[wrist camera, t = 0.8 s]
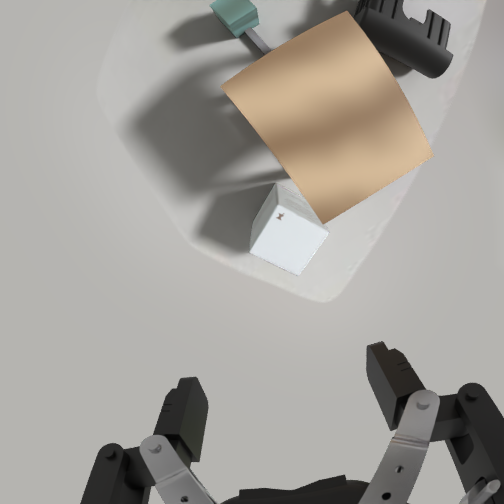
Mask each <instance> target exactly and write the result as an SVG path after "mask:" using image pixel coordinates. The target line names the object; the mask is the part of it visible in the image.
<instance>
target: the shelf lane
mask: <svg viewBox="0 0 504 504" xmlns="http://www.w3.org/2000/svg"><path fill="white" fill-rule="evenodd" d="M220 87H221V88H222V89H223V91H224V92H225V93H226V94H227V95H228V97H229V98H230V99H231V100H232V101H233V103H234V104H235V105H236V106H237V108H238V109H239V110H240V111H241V113H242V114H243V115H244V116H245V118H246V119H247V120H248V121H249V123H250V124H251V125H252V127H253V128H254V129H255V130H256V132H257V133H258V134H259V136H260V137H261V138H262V139H263V141H264V142H265V143H266V145H267V146H268V147H269V149H270V150H271V151H272V153H273V154H274V155H275V157H276V158H277V159H278V161H279V162H280V164H281V165H282V166H283V168H284V169H285V170H286V172H287V173H288V175H289V176H290V177H291V179H292V180H293V182H294V183H295V184H296V186H297V187H298V189H299V190H300V192H301V193H302V195H303V196H304V197H305V199H306V200H307V202H308V203H309V205H310V206H311V208H312V209H313V211H314V212H315V214H316V215H317V217H318V218H319V220H320V221H321V223H322V224H325V223H327V222H328V221H330V220H332V219H333V218H335V217H337V216H338V215H340V214H341V213H343V212H345V211H346V210H348V209H350V208H351V207H353V206H355V205H356V204H358V203H359V202H361V201H363V200H364V199H366V198H368V197H369V196H371V195H372V194H374V193H376V192H377V191H379V190H380V189H382V188H384V187H385V186H387V185H389V184H390V183H392V182H393V181H395V180H397V179H398V178H400V177H401V176H403V175H405V174H406V173H408V172H409V171H411V170H413V169H414V168H416V167H417V166H419V165H421V164H422V163H424V162H425V161H427V160H428V159H430V158H432V157H433V156H434V155H433V153H432V150H431V148H430V146H429V143H428V141H427V139H426V137H425V134H424V132H423V130H422V128H421V126H420V124H419V122H418V120H417V118H416V116H415V114H414V112H413V110H412V108H411V106H410V104H409V102H408V100H407V99H406V97H405V95H404V93H403V91H402V90H401V88H400V86H399V84H398V83H397V81H396V79H395V78H394V76H393V74H392V73H391V71H390V70H389V68H388V66H387V65H386V63H385V62H384V60H383V59H382V57H381V56H380V54H379V53H378V51H377V50H376V48H375V47H374V45H373V44H372V43H371V41H370V40H369V38H368V37H367V36H366V34H365V33H364V32H363V30H362V29H361V28H360V26H359V25H358V24H357V22H356V21H355V20H354V19H353V17H352V16H351V15H350V14H349V12H348V11H345V12H343V13H341V14H339V15H336V16H334V17H332V18H330V19H328V20H326V21H324V22H322V23H320V24H318V25H316V26H314V27H313V28H311V29H309V30H307V31H305V32H303V33H302V34H300V35H298V36H296V37H294V38H293V39H291V40H289V41H287V42H286V43H284V44H282V45H281V46H279V47H277V48H276V49H274V50H273V51H271V52H269V53H268V54H266V55H265V56H263V57H262V58H260V59H258V60H257V61H255V62H254V63H252V64H251V65H249V66H248V67H247V68H245V69H244V70H242V71H241V72H239V73H238V74H236V75H235V76H234V77H232V78H231V79H229V80H228V81H227V82H225V83H224V84H223V85H221V86H220Z"/></svg>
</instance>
